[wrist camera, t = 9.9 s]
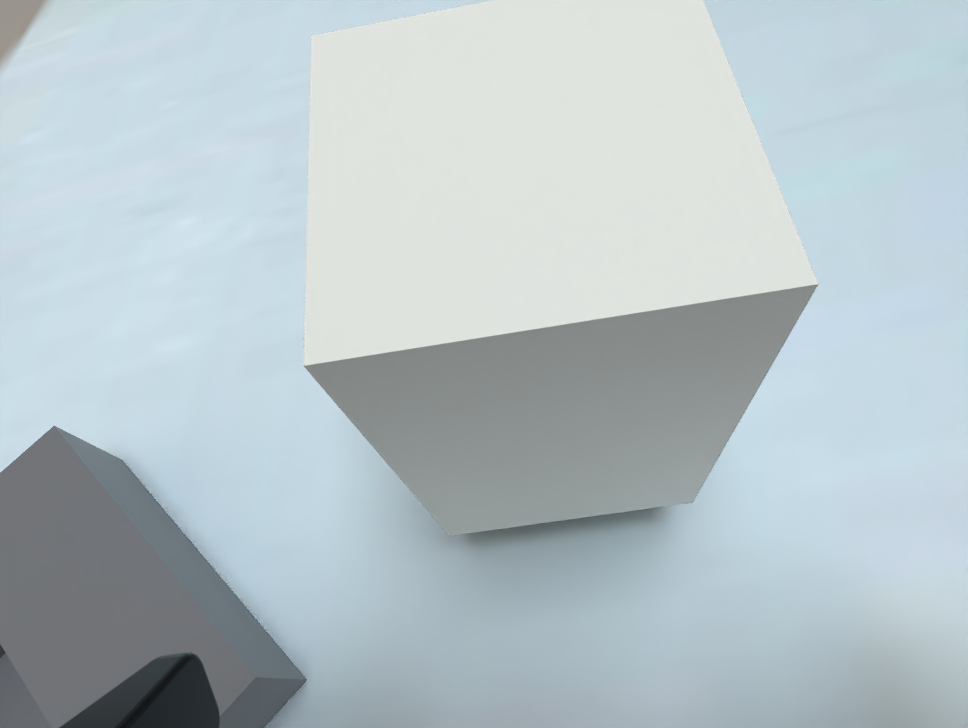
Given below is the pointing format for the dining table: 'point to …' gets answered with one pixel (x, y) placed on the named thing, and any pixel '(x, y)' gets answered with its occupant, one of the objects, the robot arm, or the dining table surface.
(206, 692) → the robot arm
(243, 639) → the power strip
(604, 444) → the block
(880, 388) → the dining table surface
